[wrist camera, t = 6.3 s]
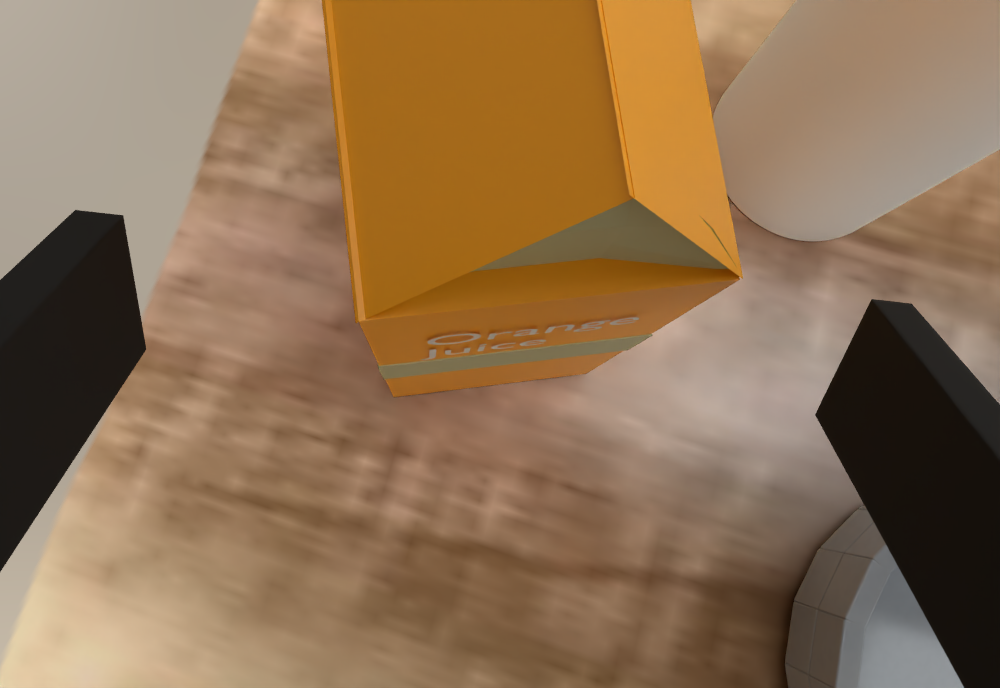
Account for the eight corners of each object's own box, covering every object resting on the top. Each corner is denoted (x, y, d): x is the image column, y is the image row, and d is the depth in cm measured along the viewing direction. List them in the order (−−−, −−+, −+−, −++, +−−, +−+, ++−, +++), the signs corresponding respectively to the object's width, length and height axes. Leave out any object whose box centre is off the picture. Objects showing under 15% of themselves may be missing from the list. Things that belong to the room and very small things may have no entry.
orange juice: (390, 399, 28) (303, 234, 8) (365, 178, 29) (242, -405, 10) (591, 374, 29) (934, 174, 9) (559, 161, 30) (798, -404, 11)
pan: (1016, 426, 30) (1104, 419, 26) (1188, 762, 29) (1309, 808, 25) (718, 570, 28) (765, 586, 24) (886, 942, 27) (966, 1024, 23)
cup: (685, 78, 32) (939, -311, 16) (859, 44, 33) (1258, -352, 17) (742, 260, 30) (1079, 35, 15) (921, 219, 32) (1410, -33, 16)
